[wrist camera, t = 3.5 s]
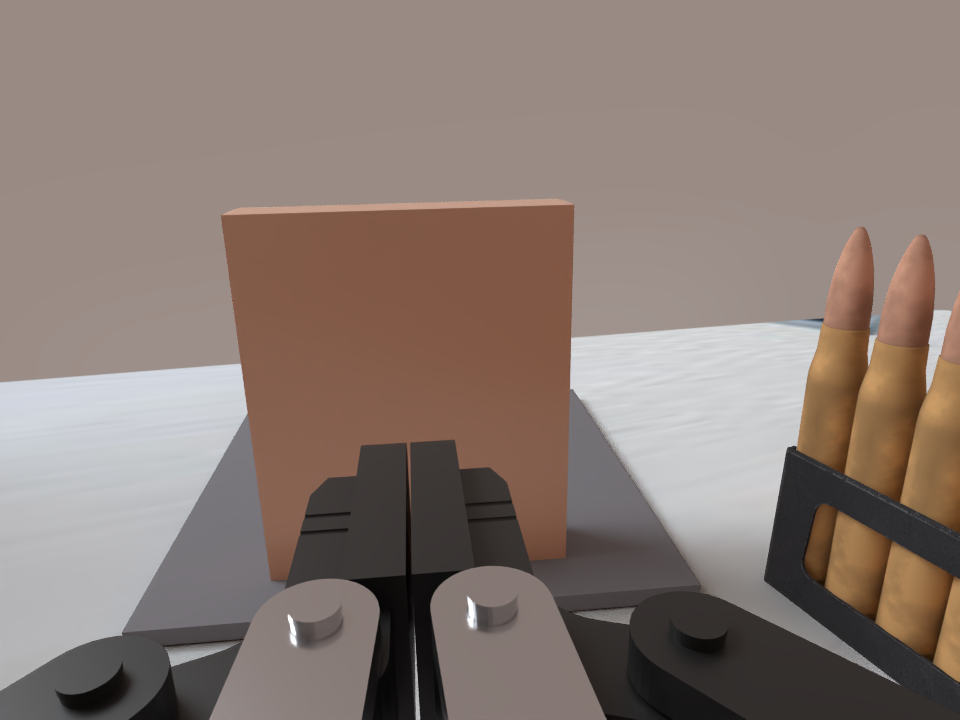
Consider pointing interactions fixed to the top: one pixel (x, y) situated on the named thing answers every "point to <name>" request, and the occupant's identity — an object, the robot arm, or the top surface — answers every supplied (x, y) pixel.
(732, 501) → the top surface
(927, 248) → the ammunition clip
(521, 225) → the tile
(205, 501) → the mat
